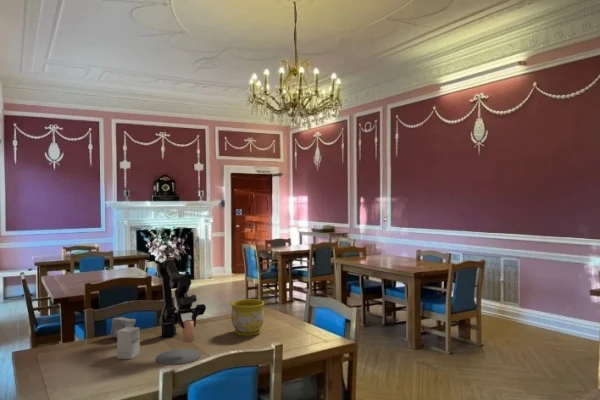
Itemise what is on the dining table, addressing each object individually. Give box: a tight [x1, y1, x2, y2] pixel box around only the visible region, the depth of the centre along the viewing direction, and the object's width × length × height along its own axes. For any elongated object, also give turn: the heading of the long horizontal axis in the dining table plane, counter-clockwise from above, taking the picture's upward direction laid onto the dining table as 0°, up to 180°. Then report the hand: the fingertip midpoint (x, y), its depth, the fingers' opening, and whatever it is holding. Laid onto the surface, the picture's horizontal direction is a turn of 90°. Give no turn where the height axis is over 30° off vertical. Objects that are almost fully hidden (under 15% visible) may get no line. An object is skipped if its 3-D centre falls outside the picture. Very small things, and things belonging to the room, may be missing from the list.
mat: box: [156, 348, 202, 366], centre depth 212 cm, size 20×20×1 cm
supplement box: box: [116, 326, 141, 360], centre depth 213 cm, size 7×7×13 cm
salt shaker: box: [182, 319, 195, 343], centre depth 214 cm, size 5×5×9 cm
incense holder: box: [110, 316, 137, 339], centre depth 241 cm, size 10×8×10 cm
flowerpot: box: [230, 298, 265, 337], centre depth 250 cm, size 18×18×16 cm
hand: (189, 327), depth 213 cm, fingers closed on salt shaker, 5 cm apart
